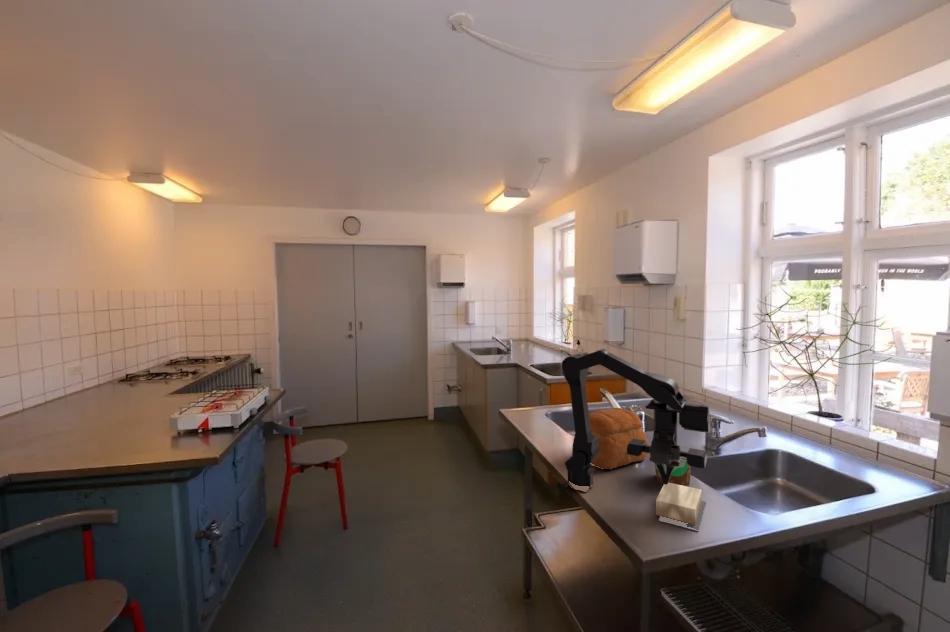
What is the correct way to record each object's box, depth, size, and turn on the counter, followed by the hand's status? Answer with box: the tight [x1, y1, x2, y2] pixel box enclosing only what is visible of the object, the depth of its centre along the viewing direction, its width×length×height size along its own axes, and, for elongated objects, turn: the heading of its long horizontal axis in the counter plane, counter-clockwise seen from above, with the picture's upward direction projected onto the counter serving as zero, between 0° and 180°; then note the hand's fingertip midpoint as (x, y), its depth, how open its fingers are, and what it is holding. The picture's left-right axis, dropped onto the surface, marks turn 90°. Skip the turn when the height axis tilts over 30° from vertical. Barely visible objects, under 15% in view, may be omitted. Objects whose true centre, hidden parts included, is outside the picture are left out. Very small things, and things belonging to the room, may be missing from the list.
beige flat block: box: [655, 483, 703, 525], centre depth 109 cm, size 4×12×9 cm
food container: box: [654, 459, 692, 486], centre depth 125 cm, size 12×6×10 cm, turn 45°
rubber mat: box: [686, 500, 707, 531], centre depth 109 cm, size 9×16×1 cm, turn 145°
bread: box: [589, 407, 649, 470], centre depth 144 cm, size 18×21×17 cm
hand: (665, 484), depth 111 cm, fingers closed
